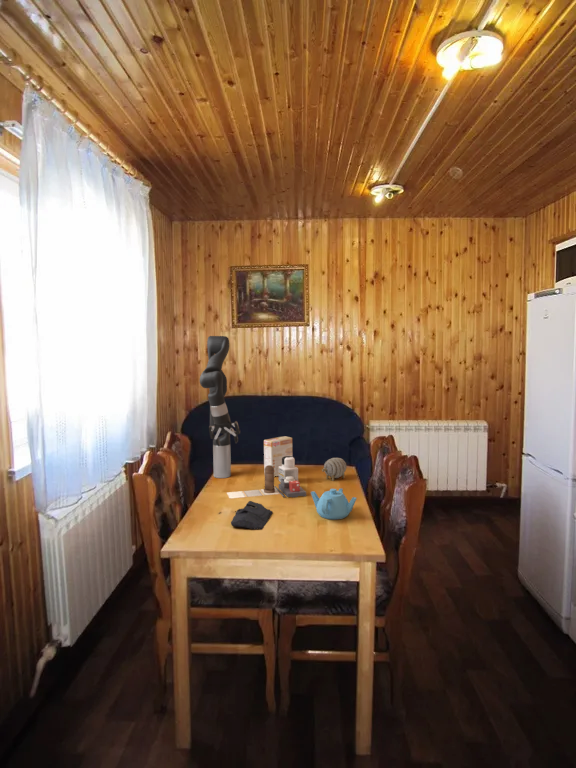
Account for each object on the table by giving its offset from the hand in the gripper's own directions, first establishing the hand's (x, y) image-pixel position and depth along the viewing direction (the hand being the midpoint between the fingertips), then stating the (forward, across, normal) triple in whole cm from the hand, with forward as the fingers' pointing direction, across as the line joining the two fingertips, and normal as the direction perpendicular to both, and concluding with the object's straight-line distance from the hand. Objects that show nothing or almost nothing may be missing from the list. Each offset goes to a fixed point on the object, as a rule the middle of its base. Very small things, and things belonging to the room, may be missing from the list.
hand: (227, 444), depth 231 cm
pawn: (+24, -16, +8) cm, 30 cm away
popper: (+28, -26, +5) cm, 38 cm away
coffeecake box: (+33, -16, -26) cm, 45 cm away
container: (+31, -23, -12) cm, 40 cm away
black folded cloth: (+18, -12, +40) cm, 46 cm away
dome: (+26, -25, +1) cm, 36 cm away
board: (+23, -9, +11) cm, 27 cm away
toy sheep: (+36, -46, -18) cm, 61 cm away
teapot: (+25, -46, +34) cm, 62 cm away
